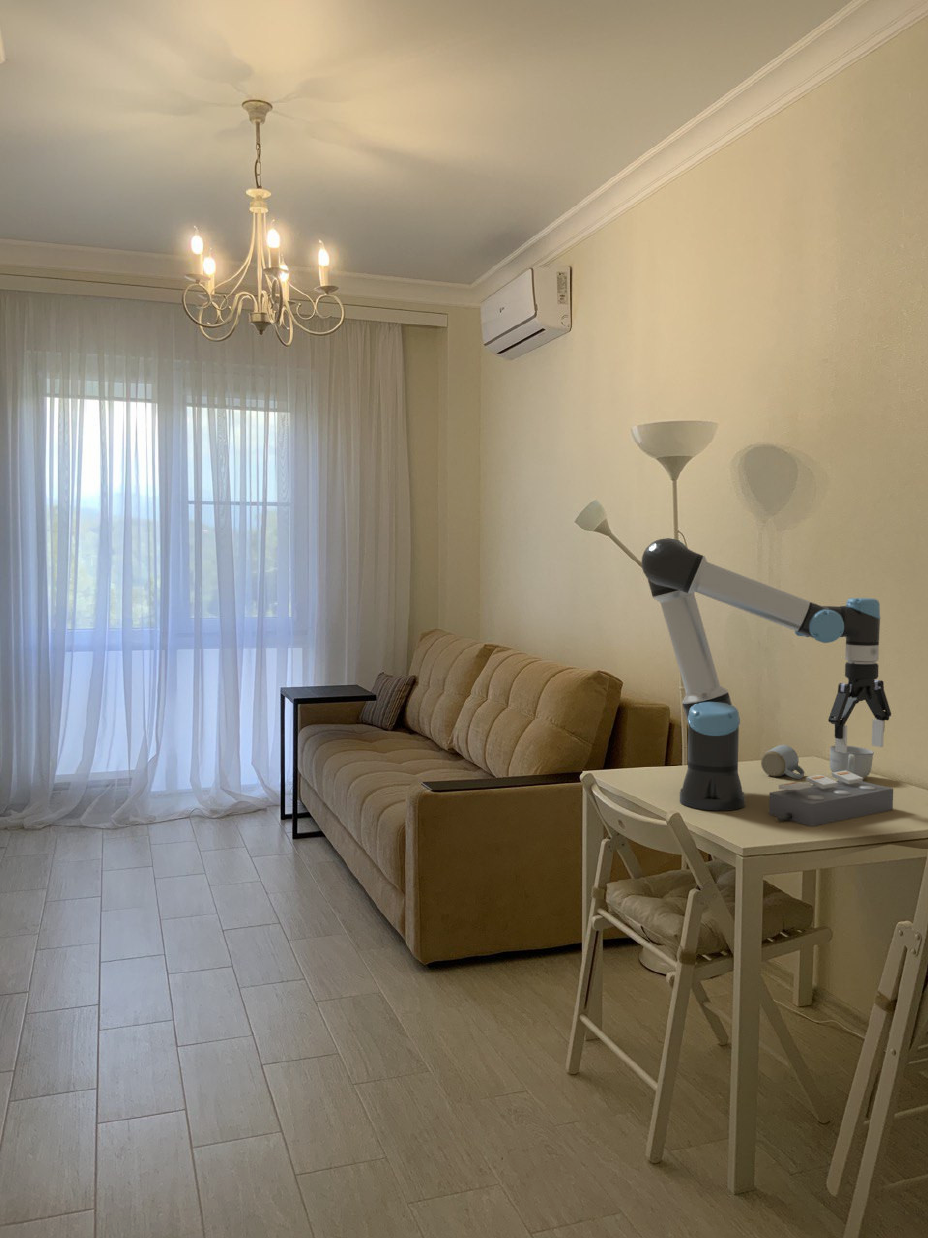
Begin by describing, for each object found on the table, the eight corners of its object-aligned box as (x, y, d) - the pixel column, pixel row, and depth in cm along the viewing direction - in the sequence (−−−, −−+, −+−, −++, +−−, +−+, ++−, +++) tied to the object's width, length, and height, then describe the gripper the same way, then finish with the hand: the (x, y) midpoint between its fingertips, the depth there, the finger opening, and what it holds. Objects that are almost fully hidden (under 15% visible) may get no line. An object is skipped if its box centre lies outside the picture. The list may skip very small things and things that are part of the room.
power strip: (799, 828, 222) (800, 805, 222) (757, 816, 232) (758, 793, 232) (892, 809, 239) (893, 787, 238) (849, 798, 249) (850, 777, 249)
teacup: (833, 771, 279) (834, 742, 278) (875, 776, 273) (876, 747, 273) (822, 781, 267) (823, 751, 266) (866, 787, 261) (867, 756, 261)
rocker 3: (848, 785, 240) (849, 779, 240) (831, 777, 244) (832, 772, 244) (862, 783, 243) (863, 777, 242) (844, 775, 247) (845, 769, 247)
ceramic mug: (758, 775, 274) (759, 747, 274) (771, 770, 280) (772, 742, 280) (796, 782, 267) (797, 753, 267) (809, 777, 274) (810, 748, 273)
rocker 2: (822, 790, 235) (823, 784, 235) (805, 782, 240) (806, 776, 239) (836, 787, 238) (837, 781, 238) (819, 779, 242) (820, 774, 242)
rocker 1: (796, 791, 231) (795, 785, 231) (779, 790, 235) (778, 784, 235) (811, 788, 233) (810, 782, 233) (794, 788, 237) (793, 781, 237)
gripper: (840, 666, 237) (838, 757, 239) (908, 660, 250) (905, 746, 252) (814, 663, 244) (812, 751, 245) (881, 657, 257) (879, 741, 258)
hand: (859, 749), depth 248 cm, fingers open, 13 cm apart
